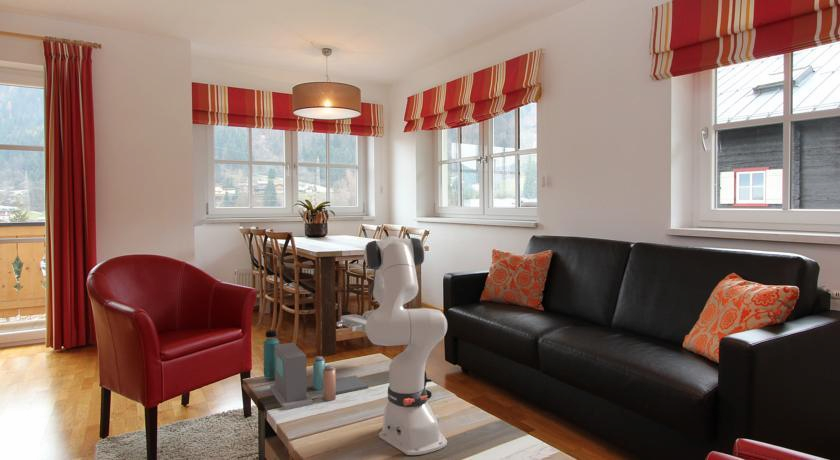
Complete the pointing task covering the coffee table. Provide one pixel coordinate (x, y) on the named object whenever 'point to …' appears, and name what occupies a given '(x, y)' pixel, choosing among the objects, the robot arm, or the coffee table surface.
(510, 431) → the coffee table surface
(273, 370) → the beverage bottle
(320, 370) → the cylinder
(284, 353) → the block
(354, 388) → the pad
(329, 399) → the terracotta cartridge
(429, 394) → the webcam
